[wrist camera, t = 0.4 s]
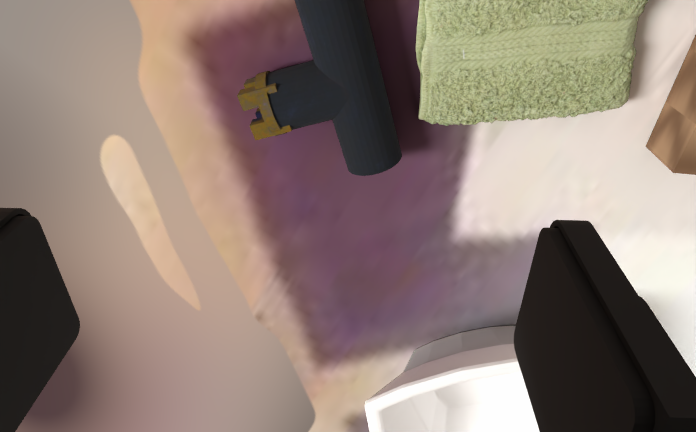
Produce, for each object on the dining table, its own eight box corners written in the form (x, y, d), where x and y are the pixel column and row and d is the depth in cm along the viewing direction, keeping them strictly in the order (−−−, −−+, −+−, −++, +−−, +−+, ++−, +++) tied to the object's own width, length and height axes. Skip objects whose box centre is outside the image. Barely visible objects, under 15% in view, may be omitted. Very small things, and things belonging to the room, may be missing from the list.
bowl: (416, 442, 73) (422, 516, 64) (349, 326, 60) (346, 399, 52) (589, 407, 67) (621, 484, 58) (556, 271, 54) (590, 343, 46)
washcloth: (411, -34, 39) (414, -28, 36) (650, -60, 37) (672, -56, 35) (416, 123, 46) (419, 138, 43) (617, 107, 44) (633, 122, 42)
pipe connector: (277, 198, 45) (206, 28, 37) (284, 170, 49) (223, 13, 41) (403, 168, 43) (357, -18, 35) (399, 141, 47) (358, -28, 39)
